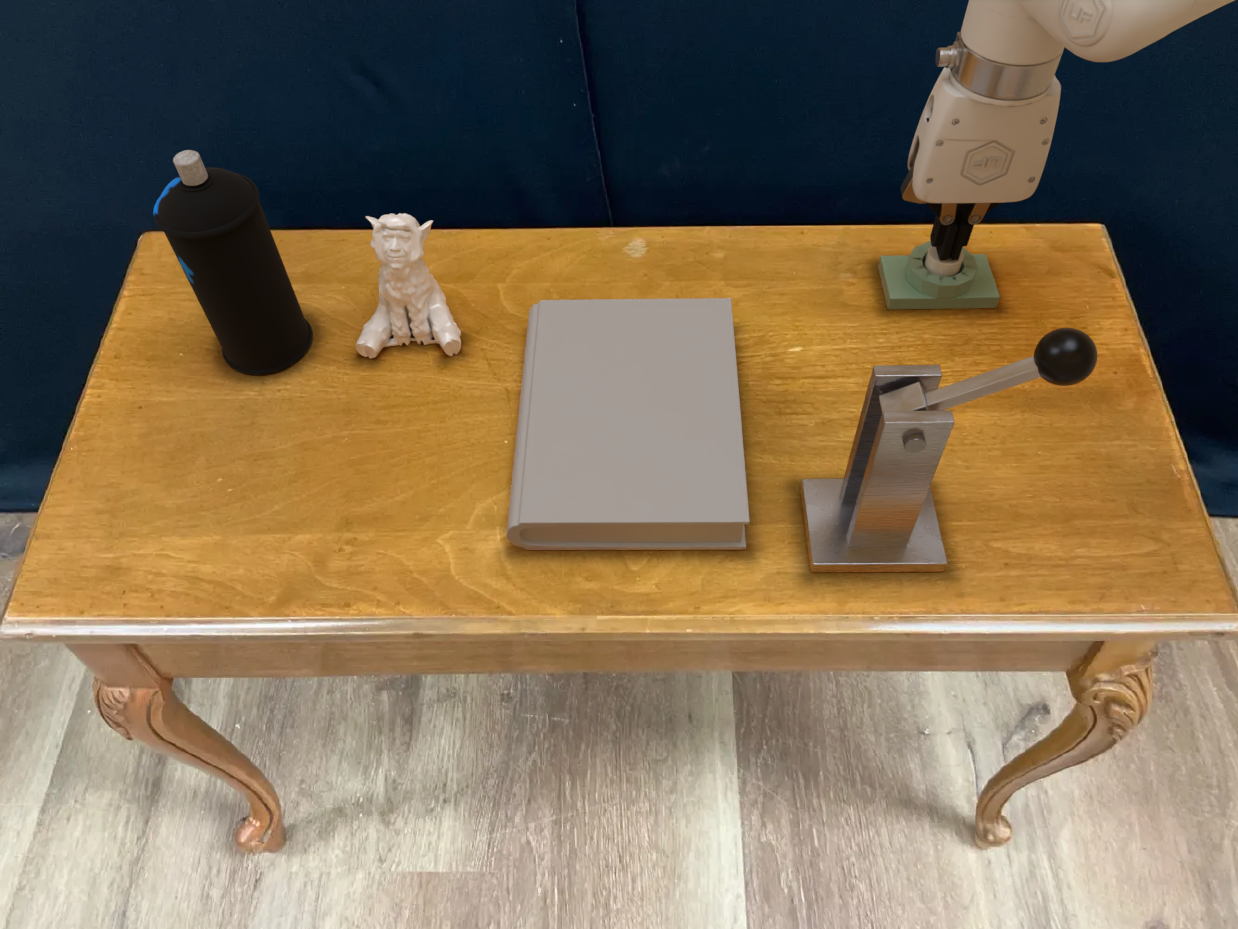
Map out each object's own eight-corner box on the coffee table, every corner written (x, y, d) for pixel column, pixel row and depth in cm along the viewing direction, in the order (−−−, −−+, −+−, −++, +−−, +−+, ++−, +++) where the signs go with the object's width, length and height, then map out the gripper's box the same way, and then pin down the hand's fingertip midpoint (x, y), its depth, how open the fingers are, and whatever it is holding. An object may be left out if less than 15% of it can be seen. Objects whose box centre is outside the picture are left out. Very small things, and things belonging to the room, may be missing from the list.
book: (731, 297, 86) (749, 521, 71) (728, 328, 89) (745, 549, 74) (526, 299, 86) (503, 522, 72) (530, 330, 89) (509, 550, 75)
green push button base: (981, 264, 93) (990, 240, 91) (996, 308, 90) (1005, 284, 87) (877, 266, 94) (883, 241, 91) (887, 310, 90) (893, 285, 87)
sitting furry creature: (357, 362, 88) (322, 259, 78) (368, 296, 93) (336, 192, 83) (462, 357, 88) (439, 253, 78) (467, 292, 93) (446, 187, 83)
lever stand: (924, 486, 78) (977, 347, 65) (944, 572, 73) (1005, 440, 60) (799, 487, 78) (828, 349, 65) (810, 572, 73) (843, 441, 60)
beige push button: (956, 253, 90) (960, 240, 89) (963, 277, 88) (967, 264, 87) (921, 254, 91) (925, 241, 89) (927, 277, 89) (931, 264, 87)
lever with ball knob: (1092, 343, 62) (1081, 307, 59) (1109, 385, 59) (1098, 349, 57) (891, 412, 67) (873, 382, 65) (900, 453, 65) (882, 423, 62)
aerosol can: (324, 314, 92) (255, 127, 76) (298, 378, 87) (219, 193, 71) (240, 310, 92) (155, 123, 76) (209, 373, 87) (111, 188, 71)
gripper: (914, 91, 72) (869, 279, 86) (1119, 88, 71) (1038, 277, 86) (897, 37, 76) (857, 224, 91) (1089, 34, 76) (1018, 222, 90)
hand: (945, 249), depth 88 cm, fingers closed
